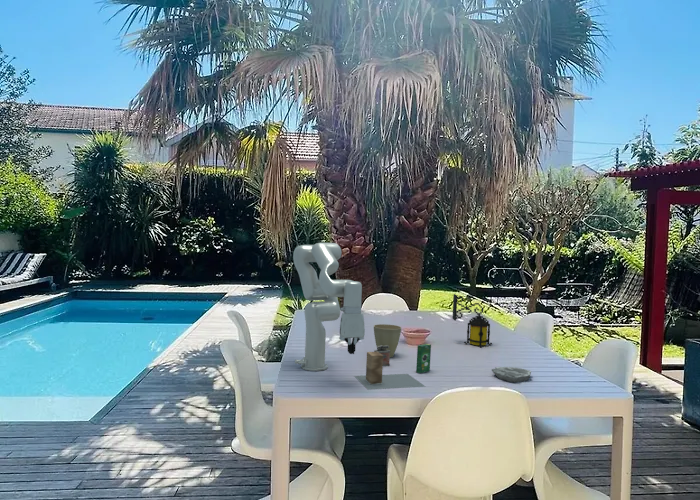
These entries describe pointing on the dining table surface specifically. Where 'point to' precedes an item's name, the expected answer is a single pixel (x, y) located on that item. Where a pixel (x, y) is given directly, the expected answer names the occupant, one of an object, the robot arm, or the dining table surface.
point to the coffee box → (423, 358)
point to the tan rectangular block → (374, 367)
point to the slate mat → (391, 382)
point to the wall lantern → (474, 324)
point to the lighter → (384, 354)
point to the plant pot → (387, 336)
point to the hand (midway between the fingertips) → (351, 353)
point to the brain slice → (512, 374)
